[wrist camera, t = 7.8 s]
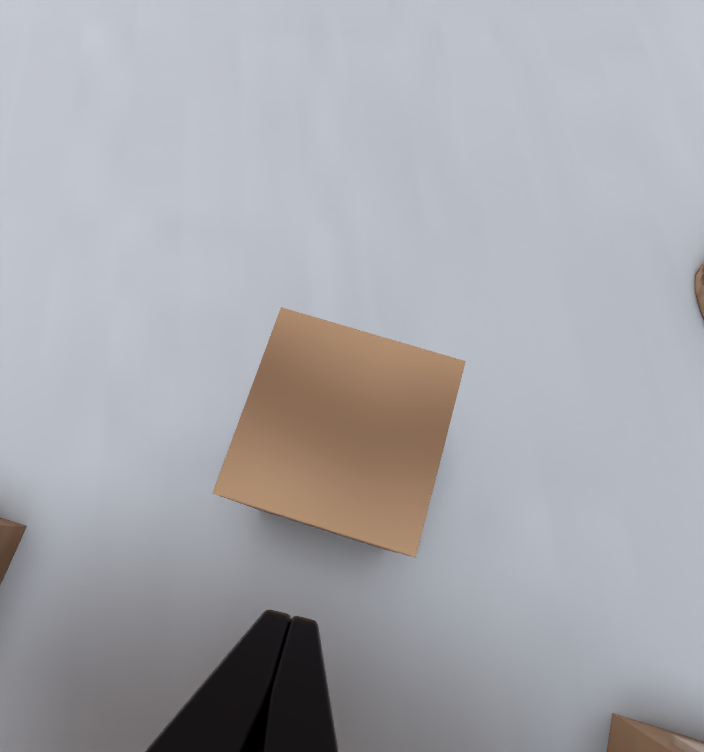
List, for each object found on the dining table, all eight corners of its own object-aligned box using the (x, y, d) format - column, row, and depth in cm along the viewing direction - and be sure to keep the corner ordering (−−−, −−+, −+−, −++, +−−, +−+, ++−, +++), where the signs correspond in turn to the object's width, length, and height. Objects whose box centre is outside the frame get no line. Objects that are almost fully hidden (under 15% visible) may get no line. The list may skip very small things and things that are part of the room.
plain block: (385, 549, 20) (415, 557, 13) (258, 509, 21) (212, 493, 13) (420, 423, 22) (465, 361, 14) (300, 387, 22) (280, 307, 14)
